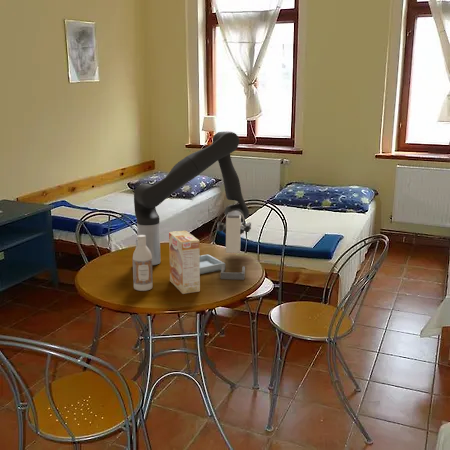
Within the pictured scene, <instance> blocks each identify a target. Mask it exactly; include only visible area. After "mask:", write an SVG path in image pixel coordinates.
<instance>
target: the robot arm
mask: <svg viewBox="0 0 450 450" xmlns="http://www.w3.org/2000/svg"><path fill="white" fill-rule="evenodd" d="M239 145H240V137H239V135H238V134H237V133H235V132H234V131H228V130H227V131H218V132H217V133H215V134H214V135H213V138H212V144H210V145H208V146H206V147H204V148H202V149H199V150H196V151H195V152H194V151H193V152H192V153H190V154H188V155H186V156H185V157H184V158H182V159H181V160H179V161H178V162H177V163H175V164H174V166H172V168H171V169H170V171H169V173H168V174H167V175H166V176H165V177H164V178H163V179H161V180H159V181H157V182H156V183H154V184H149V183H140V184H139V185H137V186H136V188H135V190H134V191H133V205H134V215H135V218H136V227H137V228H136V230H137V232H136V233H137V236H138V235H145V236H146V246H147V247H148V249H149V250H150V252H151V255H152V266H156V265H158V264H159V265H160V264H161V232H160V230H161V229H160V228H161V227H160V216H159V214H158V212H157V209H156V207H158V206H159V205H161V203H163V202H164V201H165V200H167V199H168V197H170V196H171V195H172V194H174V192H176V191H177V190H179V189H180V188H181V187H183V186H184V185H187V183H189V182H190V181H193V180H194V179H195V178H197V177H198V176H199V175H201V174H202V173H203V172H204V171H206V170H208V168H210V167H212V166H213V165H214V164H215V163H216V162H218V165H219V169H220V172H221V176H222V181H223V185H224V191H225V196H226V199H227V200H228V201H236V202H238V203H236V204H229V205H227V206H226V207H225V208H224V209H225V210H224V215H225V218H226V217H227V214H228V212H238V213H240V215H241V228H240V234H241V235H243V234H244V233H249V232H250V230H251V229H252V222H247V223H245V219H247V218H248V217H249V214H250V211H249V208H248V205H247V203H246V202H245V200H244V197H243V194H242V193H243V192H242V188H241V182H240V179H239V176H238V173H237V171H236V169H235V166H234V164H233V162H232V157H231V154H232V153H234V152H235V151H236V150H237V149H238V148H239ZM217 229H218V231H219V232H222V233H223V234H224V235H226V221H225V222H224V223H223V222H221V221H217ZM137 246H138V239H137V240H135V249H136V248H137Z"/></svg>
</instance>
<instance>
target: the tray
mask: <svg viewBox="0 0 450 450" xmlns="http://www.w3.org/2000/svg"><path fill="white" fill-rule="evenodd" d="M222 266H225V267H226V263H225V262H224V261H222V260H220V259H218V258H217V257H215V256H212V255H210V254H202V255H200V275H203V274H209V273H212V272H213V273H214V272H218V271H221V268H222Z"/></svg>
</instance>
